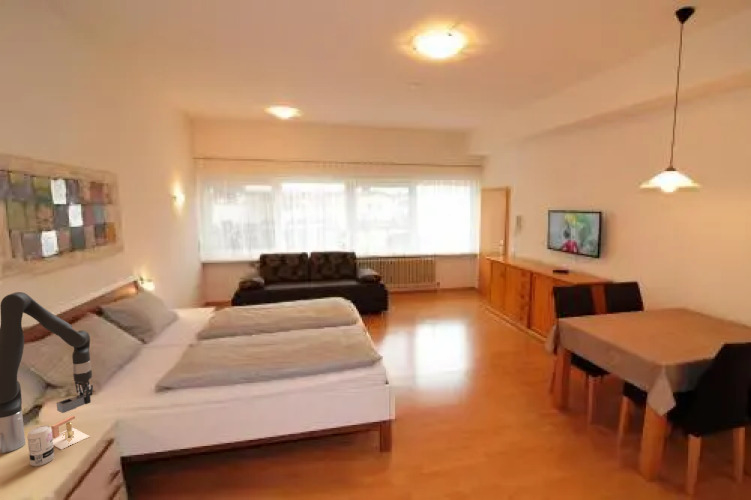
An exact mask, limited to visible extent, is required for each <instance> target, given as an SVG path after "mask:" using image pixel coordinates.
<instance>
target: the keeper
mask: <svg viewBox="0 0 751 500" xmlns="http://www.w3.org/2000/svg"><path fill="white" fill-rule="evenodd" d="M75 419H76V416H75V415H71V416H69V417H66V418H64V419H62V420H60V421H59V422H56V423H55V424H52V425H51V426H50V428H51V429H52V437H53V438H56V437H58V436H59V433H60V428H59V427H60V426H61V427H62V425H64V424H65V425H66V423H68V422H72V420H75Z"/></svg>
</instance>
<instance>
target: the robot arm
mask: <svg viewBox="0 0 751 500" xmlns="http://www.w3.org/2000/svg"><path fill="white" fill-rule="evenodd" d="M23 314H26V315H27V316H30V317H31V318H33V319H34V320H35V321H36V322H38V323H39V324H40V325H41V326H42V327H43V328H44V329H46V330H47V331H49V332H50V333H52V334H54V335H55V336H57V337H59V338H60V339H61V340H63V341H64V342H65V343H66V344H67V345H68V346H69V347H73V352H72V355H71V357H72V374H73V375H72V376H73V381H74V386H75V389H76V393H77V395H81V394H84V400H85V404H84V405H89V404H91V402H90V399H91V396H93V390H94V388H93V387H94V385H93V384H91V383H90V380H91V379H92V377H93V371H92V370H93V369H92V362H91V355H90V343H91V342H90V341H91V338H90V337H91V336H90V334H89V332H87V331H86V330H78V331H77V330H76V329H74V328H73V325H72V324H70V323H69V322H67V321H65V320H64V319H62V318H61V317H58V316H57V315H55V314H53V313H52V312H51V311H49V310H47V308H45V307H44V306H42V305H41V304H40V303H39V302H37V301H36V300H35V299H33V298H32V297H31V296H30V295H28V293H26V292H21V291H19V292H18V291H17V292H12V293H10V294H7V295H6V296H4V297H3V298H2V299H1V301H0V454H5V453H10V452H13V451H17V450H18V449H20V448H22V447H23V446H24V445H25V444H26V437H25V428H24V427H25V426H24V419H23V417H24V416H23V410H22V409H23V407H22V404H23V401H22V400H23V399H22V389H21V388H22V387H21V383H20V382H19V381H18V374H19V368H20V364H21V362H22V357H23V355H24V354H23V353H24V347H25V334H24V331H23V326H22V321H23V316H24V315H23Z"/></svg>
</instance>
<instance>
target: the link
mask: <svg viewBox="0 0 751 500" xmlns="http://www.w3.org/2000/svg"><path fill="white" fill-rule="evenodd" d="M91 401H92V400H91V398H90V403H91ZM84 405H86V404H85V400H84V394H81V395H79V394H77V395H75V396H73V397H69V398H66V399H63V400H59V401H57V402H56V410H57V412H59V413H60V414H61V413H62V414H65V413H67V412H69V411H70V412H71V411H72V410H76V409H77V408H79V407H81V406H84Z"/></svg>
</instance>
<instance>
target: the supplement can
mask: <svg viewBox="0 0 751 500" xmlns="http://www.w3.org/2000/svg"><path fill="white" fill-rule="evenodd" d="M27 443H28V444H27V445H28V455H29V464H30V465H31V466H32V467H39V466H43V465H46V464H49V463H50V462H51V461H52V460H53V459H54V458H55V450H54V449H55V448H54V447H55V446H54V445H53V437H52V429H51V426H49V425H41V426H38V427H35V428H32V429H31V430H30V431H29V432H28V434H27Z"/></svg>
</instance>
